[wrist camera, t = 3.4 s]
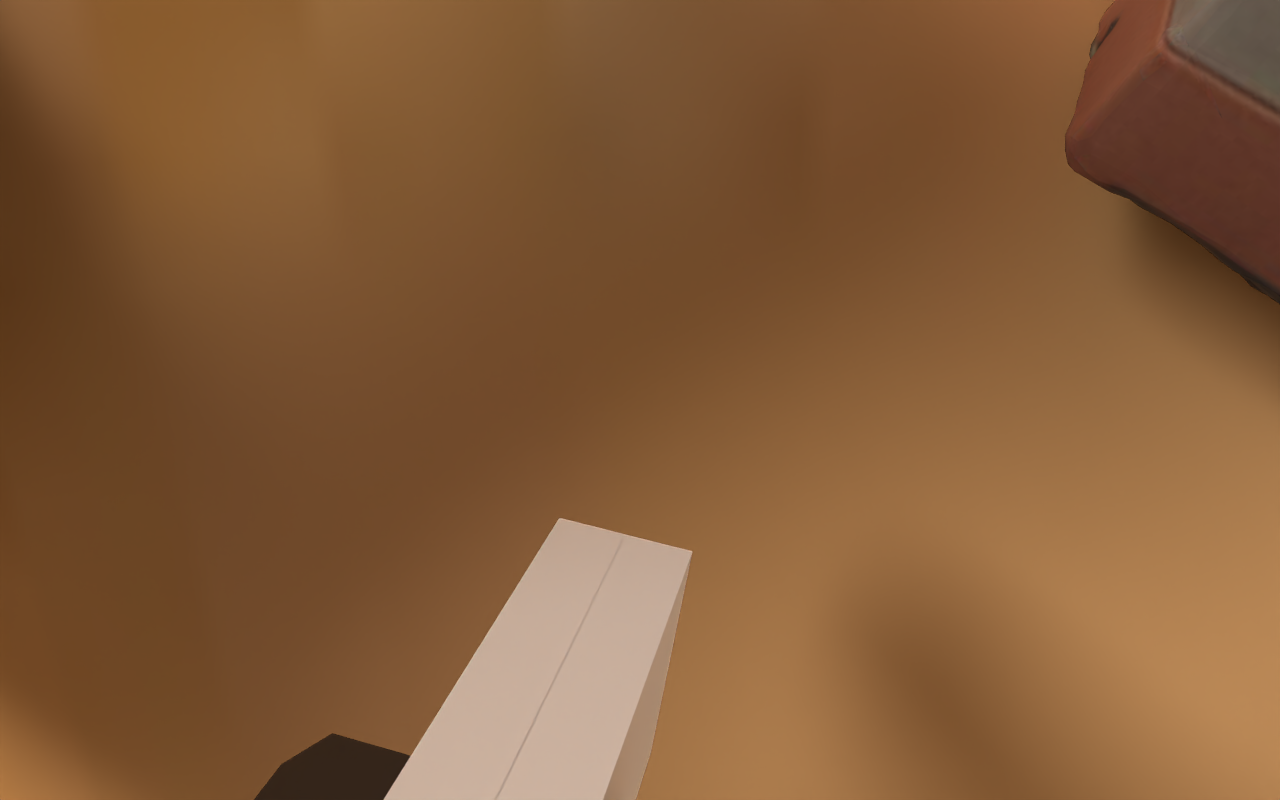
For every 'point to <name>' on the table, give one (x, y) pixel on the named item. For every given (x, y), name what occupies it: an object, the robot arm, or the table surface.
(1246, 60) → the electronic device
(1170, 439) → the table surface
